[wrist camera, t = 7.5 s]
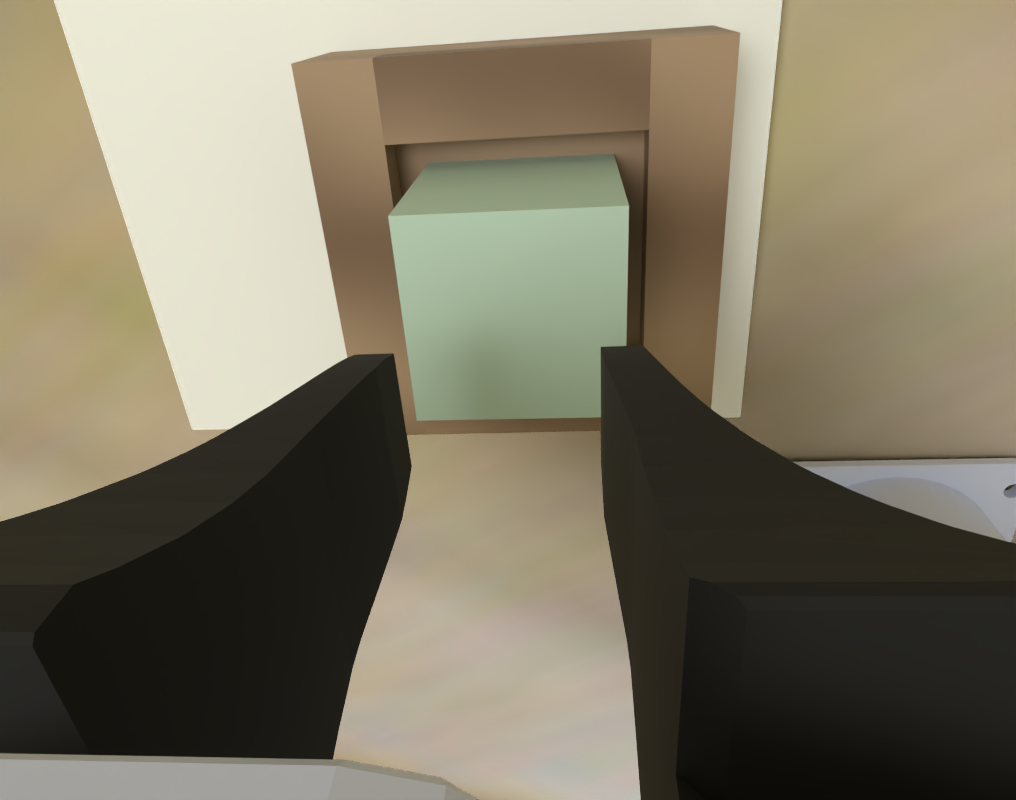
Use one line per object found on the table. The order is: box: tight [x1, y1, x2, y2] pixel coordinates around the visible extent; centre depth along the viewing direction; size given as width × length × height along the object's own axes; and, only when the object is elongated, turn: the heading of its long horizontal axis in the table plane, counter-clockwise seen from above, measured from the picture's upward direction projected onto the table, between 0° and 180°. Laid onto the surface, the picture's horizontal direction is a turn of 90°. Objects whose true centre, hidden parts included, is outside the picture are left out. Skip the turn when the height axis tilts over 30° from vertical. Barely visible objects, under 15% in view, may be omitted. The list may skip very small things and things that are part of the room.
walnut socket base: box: [291, 25, 740, 435], centre depth 18 cm, size 9×9×3 cm
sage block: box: [388, 153, 629, 421], centre depth 16 cm, size 4×4×4 cm
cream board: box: [54, 0, 782, 430], centre depth 18 cm, size 22×17×1 cm
